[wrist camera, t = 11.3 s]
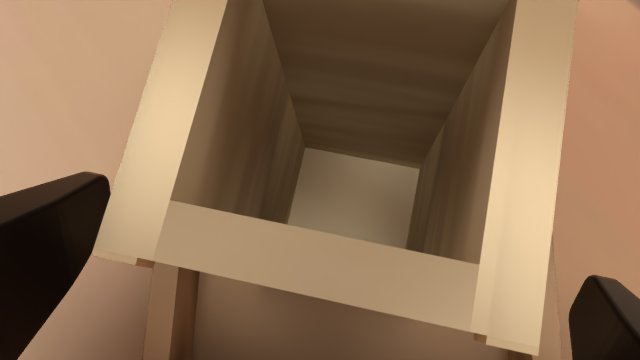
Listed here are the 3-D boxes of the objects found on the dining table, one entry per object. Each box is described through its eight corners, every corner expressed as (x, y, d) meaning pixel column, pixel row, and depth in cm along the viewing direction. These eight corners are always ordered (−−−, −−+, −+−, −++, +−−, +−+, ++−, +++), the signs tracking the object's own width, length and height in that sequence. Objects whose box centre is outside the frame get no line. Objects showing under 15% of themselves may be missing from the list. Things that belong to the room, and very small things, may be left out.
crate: (528, 408, 16) (567, 432, 13) (172, 390, 17) (136, 408, 14) (509, 74, 19) (538, 33, 16) (204, 71, 20) (179, 32, 17)
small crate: (415, 319, 16) (537, 355, 6) (253, 283, 17) (91, 255, 6) (442, 155, 18) (584, -66, 7) (291, 127, 18) (209, -117, 8)
